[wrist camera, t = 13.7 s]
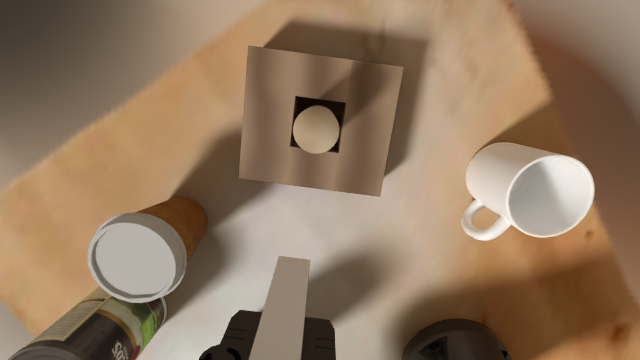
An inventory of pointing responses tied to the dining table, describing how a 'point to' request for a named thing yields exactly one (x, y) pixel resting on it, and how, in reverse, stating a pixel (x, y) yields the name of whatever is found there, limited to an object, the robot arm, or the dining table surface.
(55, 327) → the coffee can
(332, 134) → the peg
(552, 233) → the cup
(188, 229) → the disposable coffee cup
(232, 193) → the dining table surface
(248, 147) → the board
